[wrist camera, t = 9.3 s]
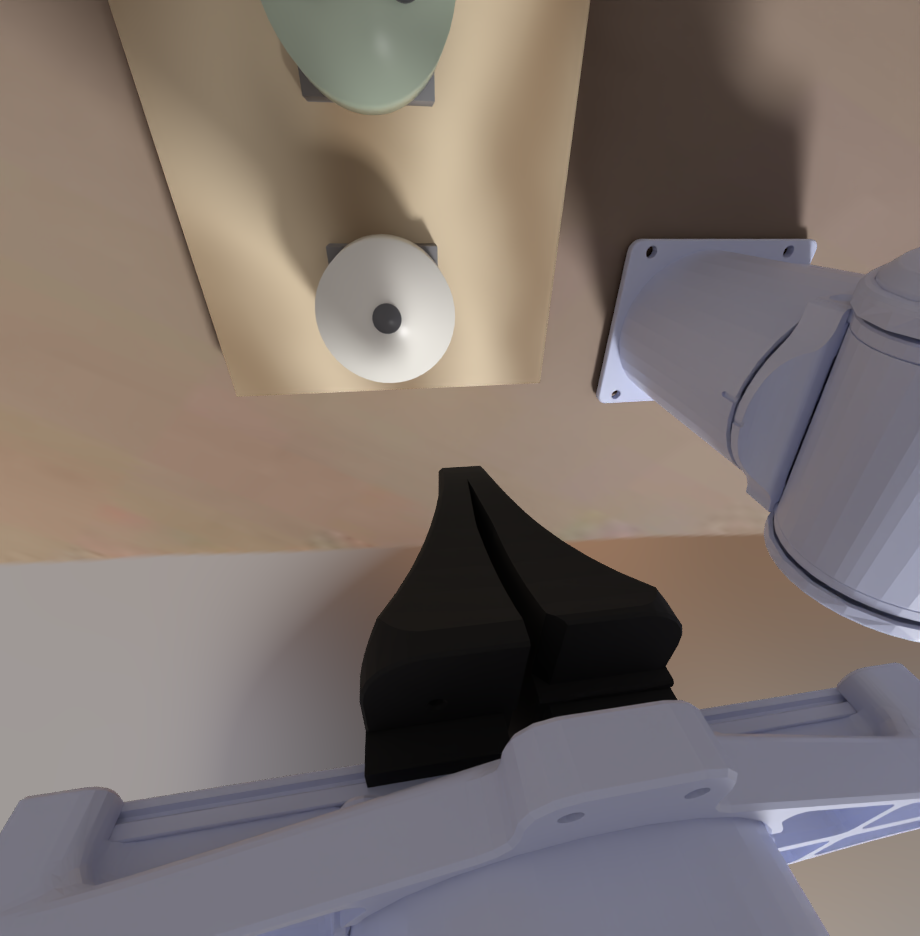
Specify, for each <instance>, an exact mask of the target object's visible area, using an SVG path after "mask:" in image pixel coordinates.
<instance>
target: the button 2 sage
mask: <svg viewBox="0 0 920 936" xmlns="http://www.w3.org/2000/svg"><path fill="white" fill-rule="evenodd" d="M261 3H262V5H263V7H264V10H265V12H266V15H267V17H268V19H269V21H270V23H271V25H272V27H273V29H274V31H275V33H276V35H277V37H278V38H279V40H280V41H281V43H282V44H283V46H284V48H285V49H286V51H287V52H288V53H289V55H290V56H291V57H292V59H293V60H294V61H295V63H296V64H297V65H298V67H299V68H300V69H301V71H302V72H303V73H304V75H305V76H306V77H307V78H308V80H309V81H310V82H311V83H312V84H313V85H314V86H315V87H316V88H317V89H318V90H319V91H320V92H321V93H322V94H323V95H324V96H326V97H327V98H328V99H329V100H331V101H332V102H334V103H335V104H337V105H339V106H340V107H342V108H345V109H347V110H349V111H352V112H355V113H359V114H364V115H383V114H388V113H392V112H394V111H396V110H399V109H401V108H403V107H404V106H406V105H407V104H409V103H410V102H411V101H412V100H414V99H415V98H416V97H417V96H418V95H419V94H420V93H421V91H422V90H423V89H424V88H425V86H426V85H427V83H428V82H429V80H430V79H431V77H432V75H433V73H434V71H435V69H436V67H437V64H438V62H439V59H440V56H441V54H442V51H443V48H444V46H445V43H446V40H447V37H448V34H449V31H450V27H451V23H452V19H453V14H454V7H455V0H261Z"/></svg>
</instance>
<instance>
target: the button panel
mask: <svg viewBox="0 0 920 936" xmlns="http://www.w3.org/2000/svg"><path fill="white" fill-rule="evenodd" d="M108 3H109V6H110V9H111V12H112V15H113V18H114V21H115V24H116V27H117V30H118V33H119V37H120V40H121V43H122V46H123V49H124V52H125V55H126V58H127V61H128V64H129V67H130V70H131V73H132V76H133V79H134V83H135V86H136V89H137V92H138V95H139V98H140V101H141V104H142V107H143V110H144V113H145V116H146V119H147V122H148V125H149V129H150V132H151V135H152V138H153V141H154V144H155V147H156V150H157V153H158V156H159V159H160V162H161V165H162V168H163V171H164V175H165V178H166V181H167V184H168V187H169V190H170V193H171V196H172V199H173V202H174V205H175V208H176V211H177V214H178V218H179V221H180V224H181V227H182V230H183V233H184V236H185V239H186V242H187V245H188V248H189V251H190V254H191V257H192V260H193V264H194V267H195V270H196V273H197V276H198V279H199V282H200V285H201V288H202V291H203V294H204V297H205V300H206V303H207V306H208V310H209V313H210V316H211V319H212V322H213V325H214V328H215V331H216V334H217V337H218V340H219V343H220V346H221V349H222V352H223V356H224V359H225V362H226V365H227V368H228V371H229V374H230V377H231V380H232V383H233V386H234V389H235V392H236V395H237V397H242V396H264V395H286V394H308V393H330V392H352V391H374V390H397V389H419V388H441V387H463V386H485V385H507V384H529V383H540V378H541V370H542V363H543V355H544V347H545V340H546V332H547V325H548V317H549V309H550V302H551V294H552V287H553V279H554V272H555V264H556V256H557V249H558V241H559V234H560V226H561V218H562V211H563V203H564V196H565V188H566V181H567V173H568V165H569V158H570V150H571V143H572V135H573V127H574V120H575V112H576V105H577V97H578V89H579V82H580V74H581V67H582V59H583V52H584V44H585V36H586V29H587V21H588V14H589V6H590V0H455V7H454V14H453V19H452V23H451V27H450V31H449V34H448V37H447V40H446V43H445V46H444V48H443V51H442V54H441V56H440V59H439V62H438V64H437V67H436V69H435V71H434V73H433V75H432V77H431V79H430V80H429V82H428V83H427V85H426V86H425V88H424V89H423V90H422V91H421V93H420V94H419V95H418V96H417V97H416V98H415V99H414V100H412V101H411V102H410V103H409V104H407V105H406V106H404V107H403V108H401V109H399V110H396V111H394V112H392V113H388V114H383V115H364V114H359V113H355V112H352V111H349V110H347V109H345V108H342V107H340V106H339V105H337V104H335V103H334V102H332V101H331V100H329V99H328V98H327V97H326V96H324V95H323V94H322V93H321V92H320V91H319V90H318V89H317V88H316V87H315V86H314V85H313V84H312V83H311V82H310V81H309V80H308V78H307V77H306V76H305V75H304V73H303V72H302V71H301V69H300V68H299V67H298V65H297V64H296V63H295V61H294V60H293V59H292V57H291V56H290V55H289V53H288V52H287V51H286V49H285V48H284V46H283V44H282V43H281V41H280V40H279V38H278V37H277V35H276V33H275V31H274V29H273V27H272V25H271V23H270V21H269V19H268V17H267V15H266V12H265V10H264V7H263V5H262V3H261V0H108ZM373 234H389V235H394V236H399V237H402V238H404V239H407V240H409V241H411V242H413V243H414V244H416V245H417V246H419V247H420V248H422V249H423V250H424V251H425V252H426V253H427V254H428V255H429V256H430V257H431V258H432V259H433V261H434V262H435V263H436V265H437V266H438V268H439V270H440V271H441V273H442V275H443V276H444V278H445V279H446V281H447V284H448V286H449V288H450V291H451V294H452V297H453V301H454V307H455V326H454V331H453V335H452V338H451V341H450V344H449V346H448V348H447V350H446V352H445V353H444V355H443V356H442V358H441V359H440V360H439V361H438V362H437V363H436V364H435V365H434V366H433V367H432V368H431V369H430V370H428V371H427V372H425V373H424V374H422V375H420V376H418V377H416V378H414V379H411V380H408V381H404V382H397V383H382V382H375V381H372V380H368V379H365V378H363V377H360V376H358V375H356V374H354V373H353V372H351V371H350V370H348V369H347V368H345V367H344V366H343V365H342V364H341V363H339V362H338V361H337V360H336V358H335V357H334V356H333V355H332V354H331V352H330V351H329V350H328V348H327V347H326V345H325V343H324V341H323V339H322V337H321V335H320V332H319V330H318V326H317V322H316V315H315V298H316V291H317V288H318V284H319V281H320V279H321V277H322V275H323V273H324V271H325V270H326V268H327V267H328V265H329V264H330V263H331V261H332V260H333V259H334V258H335V256H336V255H337V254H338V253H339V252H340V251H341V250H342V249H343V248H344V247H345V246H347V245H348V244H349V243H351V242H353V241H355V240H356V239H359V238H361V237H364V236H368V235H373Z"/></svg>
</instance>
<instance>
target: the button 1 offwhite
mask: <svg viewBox="0 0 920 936" xmlns="http://www.w3.org/2000/svg"><path fill="white" fill-rule="evenodd" d="M315 315H316V322H317V326H318V330H319V332H320V335H321V337H322V339H323V341H324V343H325V345H326V347H327V348H328V350H329V351H330V352H331V354H332V355H333V356H334V357H335V358H336V360H337V361H338V362H339V363H341V364H342V365H343V366H344V367H345V368H347V369H348V370H350V371H351V372H353V373H354V374H356V375H358V376H360V377H363V378H365V379H368V380H372V381H375V382H382V383H397V382H404V381H408V380H411V379H414V378H416V377H418V376H420V375H422V374H424V373H425V372H427V371H428V370H430V369H431V368H432V367H433V366H434V365H435V364H436V363H437V362H438V361H439V360H440V359H441V358H442V356H443V355H444V353H445V352H446V350H447V348H448V346H449V344H450V341H451V338H452V335H453V331H454V326H455V307H454V301H453V297H452V294H451V291H450V288H449V286H448V284H447V281H446V279H445V278H444V276H443V275H442V273H441V271H440V270H439V268H438V266H437V265H436V263H435V262H434V261H433V259H432V258H431V257H430V256H429V255H428V254H427V253H426V252H425V251H424V250H423V249H422V248H420V247H419V246H417V245H416V244H414V243H413V242H411V241H409V240H407V239H404V238H402V237H399V236H394V235H389V234H373V235H368V236H364V237H361V238H359V239H356V240H355V241H353V242H351V243H349V244H348V245H347V246H345V247H344V248H343V249H342V250H341V251H340V252H339V253H338V254H337V255H336V256H335V258H334V259H333V260H332V261H331V263H330V264H329V265H328V267H327V268H326V270H325V271H324V273H323V275H322V277H321V279H320V281H319V284H318V288H317V291H316V298H315Z"/></svg>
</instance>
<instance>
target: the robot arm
mask: <svg viewBox="0 0 920 936" xmlns="http://www.w3.org/2000/svg"><path fill="white" fill-rule="evenodd" d="M650 246H652V247H653V251H652V253H651V255H650V256H649V257H647V256H646V251H647V249H648V248H649V247H650ZM787 247H788V248H787ZM786 248H787V251H786V253H785V254H784V255H783V252H784V250H785V249H786ZM816 248H817V243H816V241H815V240H812V239H638V240H635V241H634V242H632V244H631V245H630V246H629V248H628V251H627V255H626V260H625V264H624V269H623V274H622V278H621V283H620V287H619V292H618V296H617V301H616V305H615V310H614V315H613V319H612V324H611V328H610V333H609V337H608V342H607V347H606V351H605V356H604V360H603V365H602V369H601V374H600V378H599V383H598V388H597V392H596V397H597V399H598V400H599V401H601V402H602V403H616V402H635V401H656V402H657V403H658V404H659V405H661V406H662V407H663V408H664V409H666V410H667V411H668V412H669V413H671V414H672V415H673V416H674V417H676V418H677V419H678V420H679V421H681V422H682V423H683V424H684V425H686V426H687V427H688V428H689V429H691V430H692V431H693V432H694V433H696V434H697V435H698V436H699V437H700V438H702V439H703V440H704V441H705V442H707V443H708V444H709V445H710V446H712V447H713V448H714V449H715V450H717V451H718V452H719V453H720V454H722V455H723V456H724V457H725V458H727V459H728V460H729V461H730V462H732V463H733V464H734V465H735V466H737V467H738V468H739V469H741V470H742V471H743V472H744V473H745V475H746V477H747V481H748V486H747V490H746V492H747V493H748V494H749V495H750V496H751V497H752V498H754V499H755V500H756V501H757V502H758V503H759V504H761V505H762V506H763V507H764V508H765V509H766V510H768V511H769V512H771V513H770V514H769V516H768V518H767V520H766V523H765V528H764V538H765V543H766V547H767V549H768V552H769V554H770V556H771V557H772V559H773V561H774V562H775V563H776V565H777V566H778V568H779V569H780V570H781V571H782V572H783V573H784V574H785V575H786V577H787V578H788V579H789V580H790V581H791V582H793V583H794V584H795V585H796V586H797V587H798V588H800V589H801V590H802V591H803V592H804V593H806V594H807V595H809V596H810V597H812V598H813V599H815V600H816V601H817V602H819V603H821V604H822V605H824V606H826V607H827V608H829V609H831V610H833V611H834V612H836V613H838V614H840V615H842V616H844V617H846V618H848V619H850V620H853V621H855V622H857V623H859V624H861V625H863V626H866V627H869V628H871V629H874V630H877V631H880V632H883V633H885V634H888V635H892V636H895V637H899V638H903V639H907V640H910V641H915V642H920V247H919V248H916V249H913V250H911V251H908V252H906V253H904V254H903V255H901V256H899V257H898V258H896V259H894V260H893V261H891V262H889V263H888V264H885V265H882V266H880V267H878V268H876V269H873V270H872V271H870V272H869V273H867V274H861V273H855V272H849V271H844V270H838V269H833V268H827V267H822V266H816V265H810V263H811V260H812V258H813V256H814V254H815V252H816ZM616 390H617V393H616V394H615V395H614V396H611V395H612V393H613V392H614V391H616ZM681 636H682V624H681V623H680V621H679V620H678V619H677V617H676V616H675V614H674V612H673V611H672V609H671V608H670V606H669V605H668V603H667V602H666V600H665V599H664V598H663V596H662V595H661V594H660V593H659V592H658V590H657V589H656V587H653V586H651V585H649V584H646V583H644V582H641V581H639V580H637V579H634V578H631V577H629V576H627V575H625V574H622V573H620V572H618V571H616V570H614V569H612V568H609V567H608V566H606V565H604V564H602V563H600V562H598V561H596V560H594V559H592V558H590V557H588V556H586V555H585V554H583V553H581V552H580V551H578V550H576V549H575V548H573V547H571V546H570V545H568V544H567V543H565V542H564V541H562V540H560V539H559V538H557V537H556V536H555V535H553V534H552V533H551V532H549V531H548V530H546V529H545V528H544V527H542V526H541V525H540V524H538V523H537V522H536V521H535V520H534V519H532V518H531V517H530V516H529V515H528V514H527V513H525V512H524V511H523V510H522V509H521V508H520V507H519V506H518V505H517V504H516V503H515V502H514V501H513V500H512V499H511V498H510V497H509V496H508V495H507V494H506V493H505V492H504V491H503V490H502V489H501V488H500V487H499V486H498V485H497V484H496V483H495V481H494V480H493V479H492V478H491V477H490V476H489V475H488V474H487V472H486V471H485V470H484V469H483V468H482V467H481V466H470V467H453V468H442V469H441V470H440V471H439V496H438V501H437V506H436V510H435V513H434V517H433V520H432V523H431V526H430V529H429V532H428V534H427V537H426V539H425V542H424V544H423V546H422V548H421V551H420V553H419V554H418V556H417V558H416V561H415V563H414V565H413V566H412V568H411V570H410V572H409V573H408V575H407V576H406V578H405V580H404V581H403V583H402V584H401V586H400V588H399V589H398V591H397V593H396V594H395V595H394V596H393V598H392V599H391V600H390V602H389V603H388V604H387V606H386V607H385V608H384V610H383V611H382V612H381V614H380V615H379V616H378V618H377V619H376V622H375V625H374V627H373V630H372V633H371V635H370V638H369V641H368V644H367V648H366V651H365V655H364V658H363V663H362V668H361V675H360V705H361V710H362V715H363V719H364V724H365V729H366V744H365V763H364V764H358V765H352V766H346V767H339V768H333V769H327V770H321V771H314V772H308V773H302V774H296V775H289V776H283V777H277V778H271V779H265V780H259V781H253V782H246V783H240V784H234V785H227V786H222V787H215V788H209V789H203V790H196V791H190V792H184V793H178V794H172V795H165V796H159V797H153V798H147V799H140V800H134V801H128V802H123V801H122V799H121V798H120V796H119V795H118V794H117V793H116V792H115V791H113V790H111V789H108V788H103V787H86V788H80V789H73V790H67V791H60V792H54V793H47V794H40V795H34V796H28V797H26V798H24V799H22V800H20V801H19V803H18V805H17V806H16V808H15V809H14V811H13V813H12V815H11V816H10V818H9V819H8V821H7V823H6V824H5V826H4V828H3V830H2V831H1V833H0V936H830V935H829V934H828V932H827V930H826V929H825V927H824V925H823V923H822V922H821V920H820V918H819V917H818V915H817V913H816V912H815V910H814V908H813V907H812V905H811V903H810V902H809V900H808V898H807V897H806V895H805V893H804V892H803V890H802V888H801V887H800V885H799V883H798V881H797V880H796V878H795V876H794V875H793V873H792V871H791V870H790V868H789V866H788V865H789V864H792V863H796V862H799V861H802V860H806V859H810V858H813V857H817V856H820V855H823V854H827V853H830V852H833V851H837V850H841V849H844V848H848V847H851V846H855V845H859V844H862V843H866V842H869V841H873V840H877V839H881V838H884V837H888V836H892V835H896V834H900V833H904V832H908V831H912V830H916V829H920V680H919V679H917V678H916V677H915V676H914V675H913V674H912V673H911V672H910V671H909V670H907V668H905V667H904V666H903V665H902V664H900V663H890V664H883V665H877V666H870V667H864V668H860V669H857V670H855V671H853V672H851V673H849V674H848V675H846V676H845V677H844V678H843V679H842V680H841V681H840V682H839V683H838V684H837V687H836V688H830V689H824V690H818V691H811V692H805V693H799V694H793V695H787V696H780V697H774V698H768V699H762V700H756V701H749V702H744V703H737V704H731V705H724V706H718V707H712V708H706V709H700V710H699V709H698V708H696V707H695V706H693V705H692V704H690V703H688V702H686V701H683V700H677V698H676V697H675V695H674V693H673V692H672V690H671V688H670V687H672V686H673V684H674V681H673V678H672V677H671V675H670V673H669V671H668V670H667V668H666V665H667V663H668V661H669V659H670V658H671V656H672V654H673V652H674V651H675V649H676V647H677V646H678V643H679V641H680V638H681Z"/></svg>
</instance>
